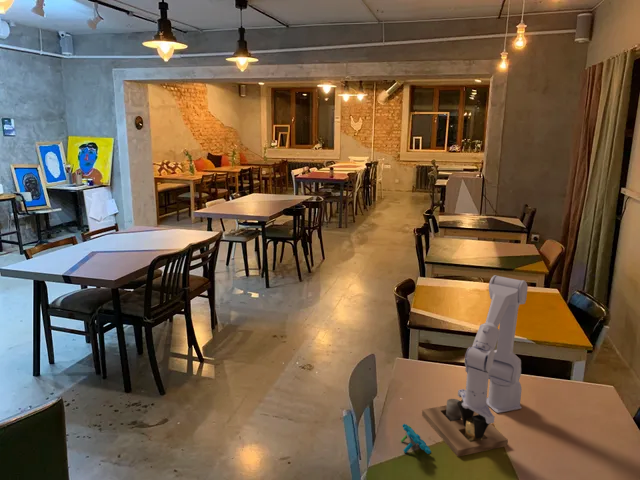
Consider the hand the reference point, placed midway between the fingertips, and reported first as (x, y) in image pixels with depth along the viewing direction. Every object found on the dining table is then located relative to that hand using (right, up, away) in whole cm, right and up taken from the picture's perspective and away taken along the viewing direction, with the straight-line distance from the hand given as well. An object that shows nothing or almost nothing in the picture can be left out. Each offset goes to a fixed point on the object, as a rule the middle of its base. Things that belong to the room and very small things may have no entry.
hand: (473, 431), depth 135 cm
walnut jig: (-1, -2, +5) cm, 6 cm away
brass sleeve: (0, -3, +1) cm, 3 cm away
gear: (-17, -4, -3) cm, 18 cm away
